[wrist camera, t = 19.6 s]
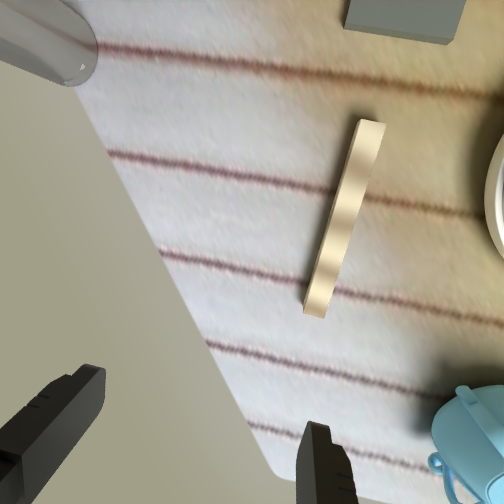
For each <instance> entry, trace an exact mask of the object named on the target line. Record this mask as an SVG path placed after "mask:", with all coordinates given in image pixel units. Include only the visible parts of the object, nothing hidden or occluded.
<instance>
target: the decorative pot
mask: <svg viewBox="0 0 504 504" xmlns="http://www.w3.org/2000/svg"><path fill="white" fill-rule="evenodd" d="M455 392H456V394H457V396H456V397H455V398H453V399H451V400H450V401H449V402H447V403H446V404H445V405H444V406H442V407H441V408H440V409H439V410H438V412H437V413H436V415H435V417H434V420H433V423H432V429H431V432H432V439H433V441H434V444H435V446H436V448H437V450H438V452H439V453H438V452H435V453H432V454H431V455H430V456H429V457H428V465H429V467H430V469H431V471H432V472H434V473H435V474H437V475H442V474H443V481H444V488H445V492H446V495H447V498H448V500H449V502H450V504H462V503H460V502H458V500H457V498H456V495H455V491H454V485H453V476H452V473H453V475H454V476H455V477H456V478H457V480H458V481H459V482H460V483H461V484H462V486H463V487H464V488H465V489H466V490H467V491H468V492H469V493H470V494H471V495H472V496H473V497H474V498H475V499H476V500H477V501H478V502H477V503H475V504H504V385H490V386H484V387H480V388H476V389H472V390H470V388H469V387H468V386H465V385H462V386H458V387H457V388H456V391H455ZM438 464H442V465H440V466H438V467H437V465H438Z"/></svg>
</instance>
